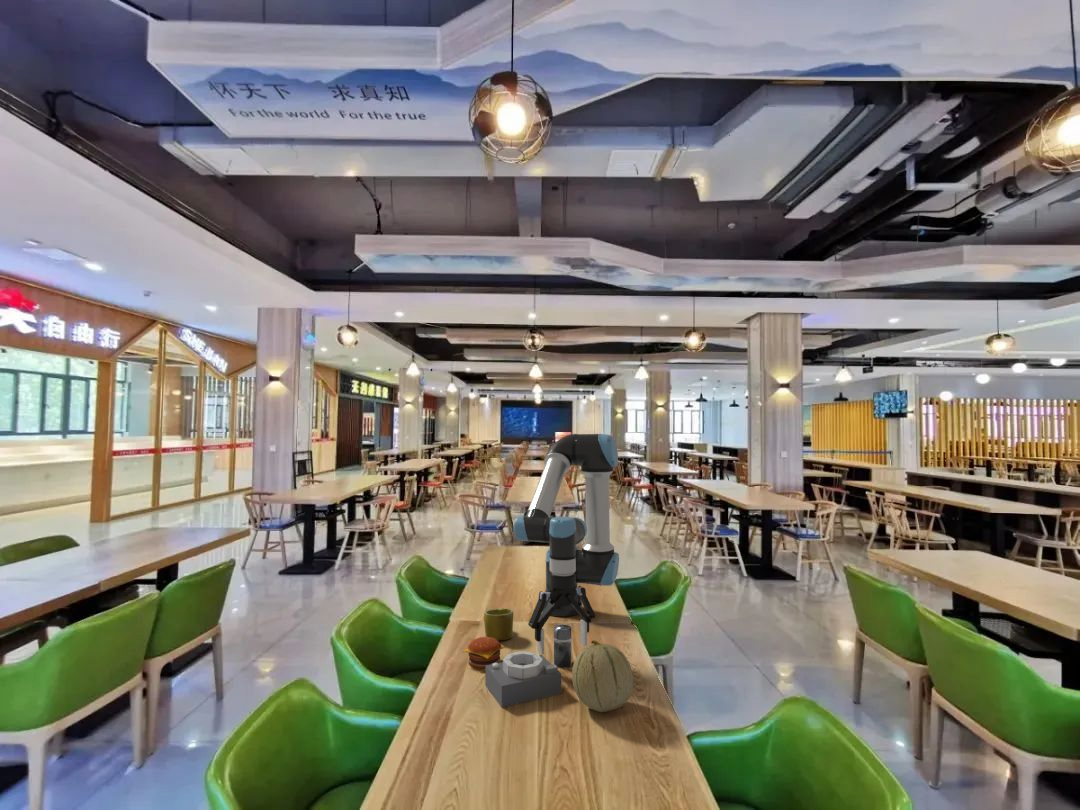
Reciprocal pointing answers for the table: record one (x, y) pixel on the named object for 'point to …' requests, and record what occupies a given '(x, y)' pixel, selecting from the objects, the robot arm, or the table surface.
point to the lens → (562, 646)
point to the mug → (499, 623)
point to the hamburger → (484, 652)
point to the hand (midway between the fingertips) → (562, 648)
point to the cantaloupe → (602, 677)
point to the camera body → (522, 678)
